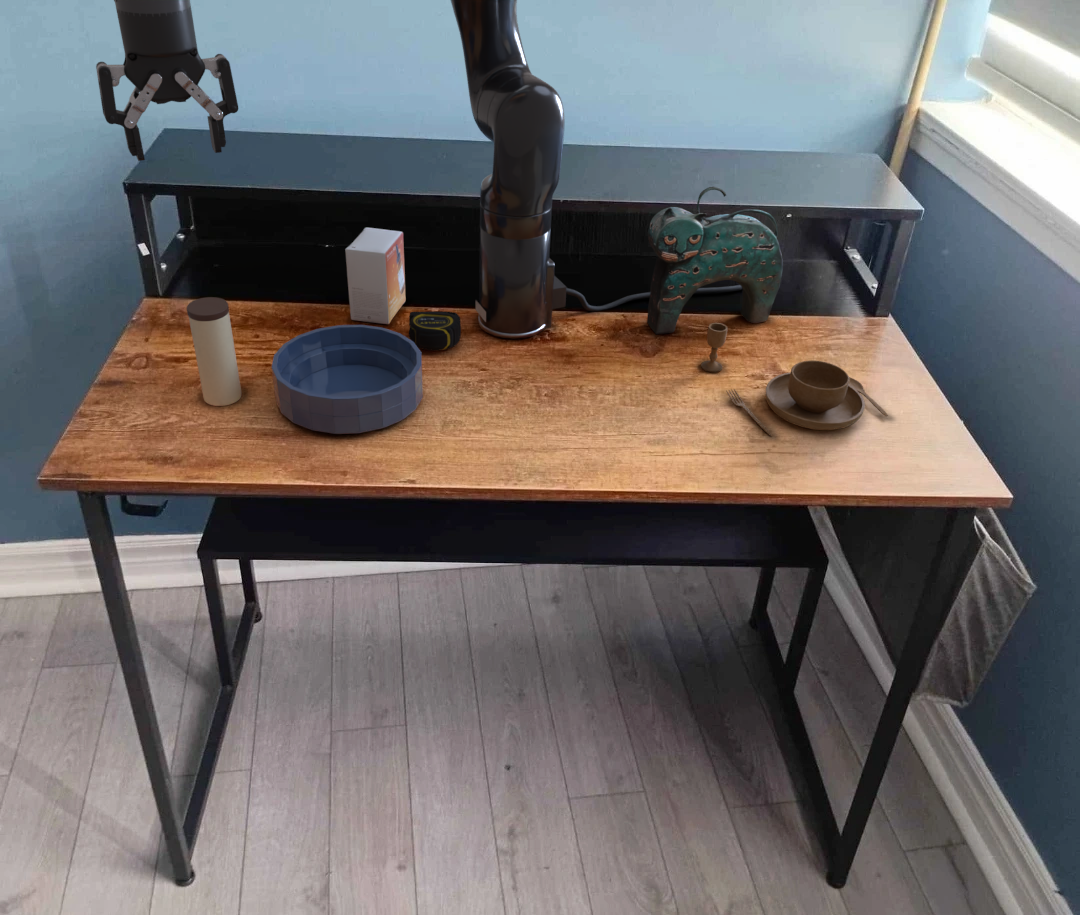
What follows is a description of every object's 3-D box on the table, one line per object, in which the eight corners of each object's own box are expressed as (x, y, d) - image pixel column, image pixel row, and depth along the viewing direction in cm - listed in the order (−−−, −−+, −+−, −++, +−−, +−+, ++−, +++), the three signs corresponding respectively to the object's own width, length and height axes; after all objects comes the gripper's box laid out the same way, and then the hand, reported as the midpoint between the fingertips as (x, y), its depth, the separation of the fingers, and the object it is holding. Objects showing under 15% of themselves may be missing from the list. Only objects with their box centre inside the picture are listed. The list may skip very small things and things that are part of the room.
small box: (388, 326, 133) (385, 253, 127) (349, 320, 134) (344, 248, 128) (407, 300, 140) (404, 230, 134) (369, 295, 140) (365, 225, 134)
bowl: (397, 353, 127) (395, 315, 124) (442, 421, 115) (442, 381, 112) (263, 377, 121) (258, 338, 118) (296, 452, 109) (291, 410, 105)
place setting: (776, 447, 113) (786, 404, 110) (693, 364, 128) (699, 324, 125) (899, 421, 119) (911, 380, 116) (805, 344, 134) (814, 306, 131)
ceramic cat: (646, 340, 133) (664, 197, 122) (630, 318, 138) (645, 179, 127) (778, 326, 138) (806, 188, 127) (757, 305, 143) (782, 171, 132)
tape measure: (460, 331, 133) (460, 306, 131) (461, 356, 127) (461, 331, 125) (409, 331, 132) (408, 306, 130) (408, 356, 127) (407, 331, 125)
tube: (238, 383, 120) (224, 294, 113) (245, 402, 116) (231, 311, 109) (200, 390, 118) (183, 300, 111) (206, 409, 115) (189, 317, 108)
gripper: (84, 14, 98) (118, 172, 108) (229, 6, 104) (249, 158, 113) (77, -1, 104) (109, 151, 113) (214, -8, 109) (235, 138, 118)
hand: (179, 154), depth 113 cm, fingers open, 8 cm apart
